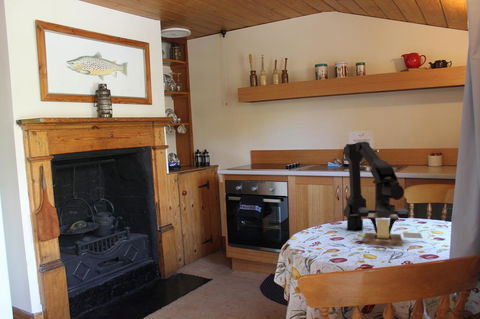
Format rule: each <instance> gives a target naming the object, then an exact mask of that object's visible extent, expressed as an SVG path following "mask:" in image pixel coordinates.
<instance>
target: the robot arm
mask: <svg viewBox="0 0 480 319" xmlns="http://www.w3.org/2000/svg"><path fill="white" fill-rule="evenodd" d="M343 153H344V159H345V160H346V161H347V163H348V172H349V174H348V175H349V176H348V177H349V196H348V198H347V200H346V206H345V208H344V209H343V211H342V212H343V217H346V221H347V222H346V224H347V225H346V226H347V228H346V231H350V232H352V231H353V232H362V231H363V229H364V219H363V218H367V219H368V220H370V221H371V223H372V226H373V228H374V231H375V232H374V233H376V234H377V219H382V218H386V219H389V234H391V231H392V229H393V226H394V224H395V222H396V221H398V220H399V219H409V210H407V208H396V205H395V204H391V199H392V200H394V201H395V200H396V201H399V200H401V199H402V198H403V197H404V195H405V190H404V188H403V186H401V185H400V181H399V180H398V177H397V175H396V173H395V170H394V168H393V166H392V165H391V164H390V163H389V162H388V161H386V160H383V159H381V158H380V157H379V155H378V154H377V153H376V151H374V149H373V148H372V147H371V145H370V142H368V141H358V142H355V143H347V144H346V145H345V146H343ZM363 158H364V160H365V161H366V163H367V164H368V165H369V166H370V173H371V175H372V177H373V179H374V180H373V181H372V184H374V186H375V187H374V193H375V194H374V198H375V199H374V202H375V203H374V206H375V207H374V209H370V208H369V207H367V200H366V198H364V197H363V195H362V182H361V180H362V179H361V178H362V177H361V162H362V160H363ZM376 217H377V218H376Z"/></svg>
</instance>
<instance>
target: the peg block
mask: <svg viewBox="0 0 480 319" xmlns="http://www.w3.org/2000/svg"><path fill="white" fill-rule="evenodd" d="M389 221H390V219H389V218H386V219H383V218H376V225H377V239H382V240H390V239H389Z"/></svg>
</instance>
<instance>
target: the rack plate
mask: <svg viewBox="0 0 480 319" xmlns="http://www.w3.org/2000/svg"><path fill="white" fill-rule="evenodd" d="M364 245H369V246H370V245H371V246H390V247H396V248H395V250H396V249H399V248H397V247H403V239H402V235H401V234H400V233H399V234H397V233H390V234H389V240H382V239H377V234H376V232H364ZM378 248H380V249H381V248H382V247H378Z"/></svg>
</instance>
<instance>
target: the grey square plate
mask: <svg viewBox="0 0 480 319" xmlns="http://www.w3.org/2000/svg"><path fill="white" fill-rule="evenodd" d="M402 234H403V238H404V239H405V238H406V239H407V238H410V239H423V236H422V233H420V232H402Z"/></svg>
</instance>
